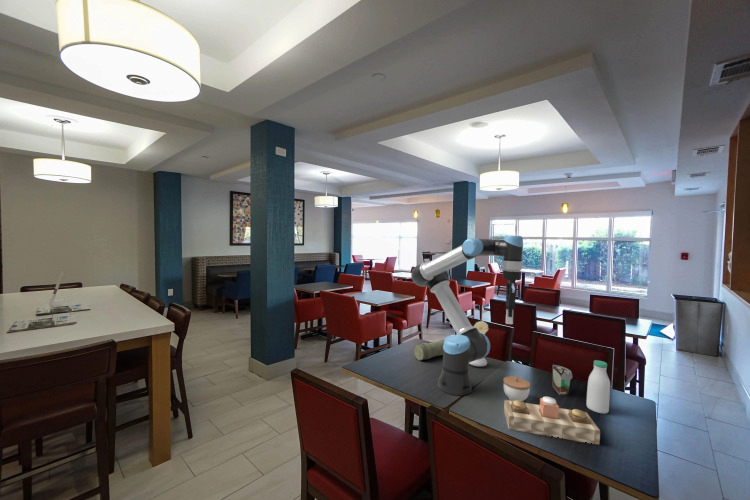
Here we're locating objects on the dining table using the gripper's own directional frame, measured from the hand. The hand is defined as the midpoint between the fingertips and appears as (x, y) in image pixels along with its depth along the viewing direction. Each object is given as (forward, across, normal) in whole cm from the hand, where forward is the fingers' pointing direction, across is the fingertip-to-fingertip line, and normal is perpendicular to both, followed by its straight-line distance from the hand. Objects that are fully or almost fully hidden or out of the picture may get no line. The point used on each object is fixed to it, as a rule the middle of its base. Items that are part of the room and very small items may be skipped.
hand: (509, 323), depth 140 cm
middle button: (+28, -21, -12) cm, 37 cm away
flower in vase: (+33, +32, +10) cm, 47 cm away
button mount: (+32, -21, -12) cm, 40 cm away
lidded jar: (+33, -2, -4) cm, 33 cm away
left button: (+31, -21, -2) cm, 38 cm away
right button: (+31, -21, -22) cm, 43 cm away
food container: (+33, +13, -27) cm, 44 cm away
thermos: (+28, +27, +42) cm, 57 cm away
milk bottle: (+33, 0, -36) cm, 49 cm away
